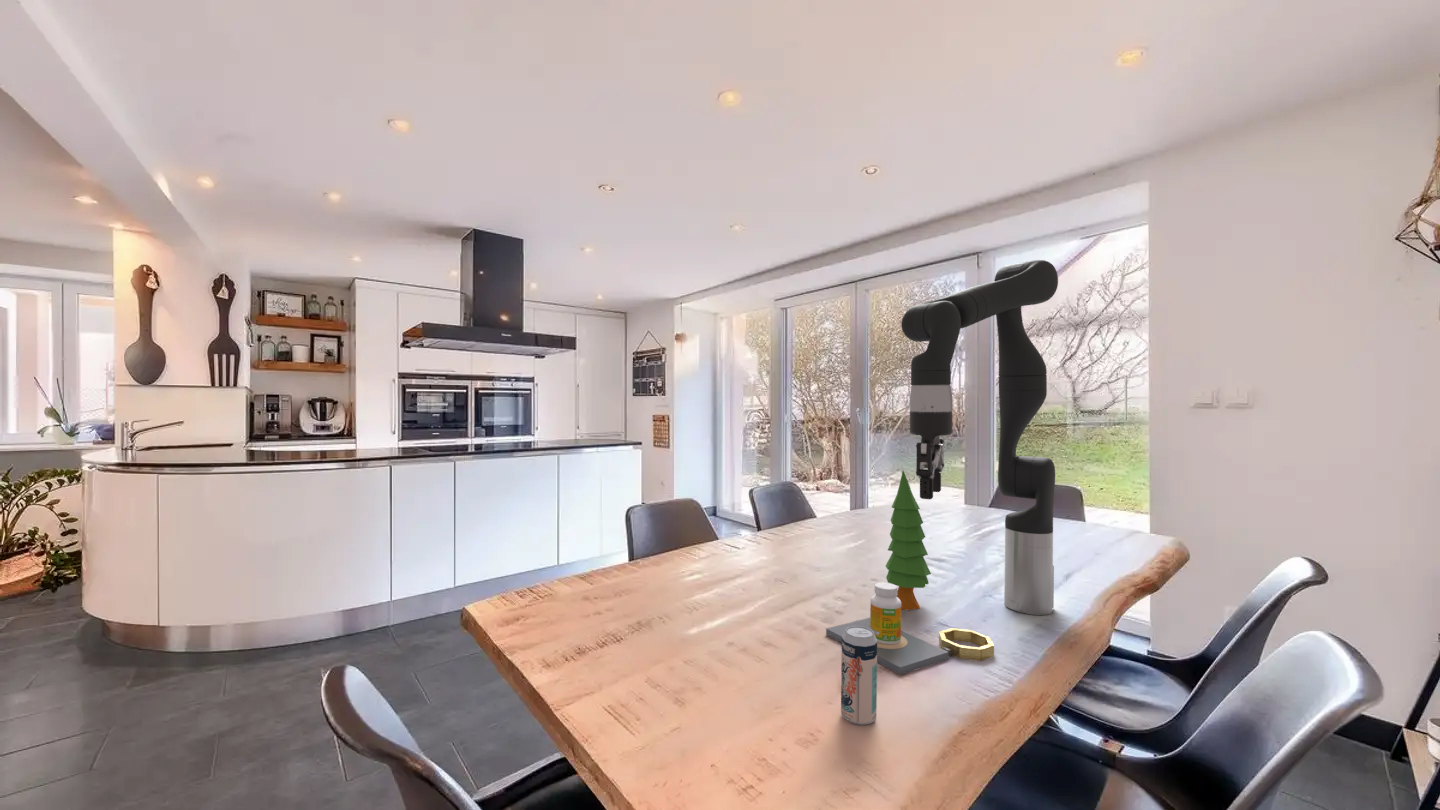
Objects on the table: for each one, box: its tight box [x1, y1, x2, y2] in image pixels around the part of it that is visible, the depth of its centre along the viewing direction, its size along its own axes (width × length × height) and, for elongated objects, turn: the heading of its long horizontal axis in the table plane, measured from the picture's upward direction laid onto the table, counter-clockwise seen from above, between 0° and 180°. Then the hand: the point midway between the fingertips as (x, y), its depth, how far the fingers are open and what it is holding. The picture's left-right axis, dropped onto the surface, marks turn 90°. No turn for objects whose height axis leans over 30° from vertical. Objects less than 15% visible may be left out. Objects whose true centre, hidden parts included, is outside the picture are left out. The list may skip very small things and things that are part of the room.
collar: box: [938, 627, 995, 662], centre depth 99 cm, size 11×9×2 cm
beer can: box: [840, 626, 878, 726], centre depth 77 cm, size 5×5×12 cm
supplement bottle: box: [869, 581, 902, 645], centre depth 100 cm, size 5×5×10 cm
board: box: [825, 617, 950, 676], centre depth 100 cm, size 12×18×1 cm, turn 30°
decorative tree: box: [885, 470, 932, 611], centre depth 122 cm, size 10×9×30 cm
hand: (930, 495), depth 104 cm, fingers open, 8 cm apart
